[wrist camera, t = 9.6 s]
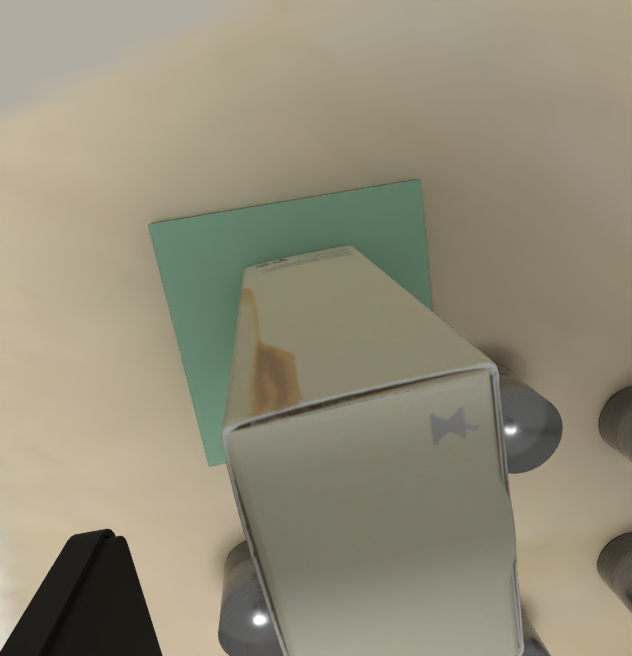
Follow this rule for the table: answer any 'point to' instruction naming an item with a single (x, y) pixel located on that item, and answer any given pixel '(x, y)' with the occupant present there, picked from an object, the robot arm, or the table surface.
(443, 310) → the table surface
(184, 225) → the coaster
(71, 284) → the table surface
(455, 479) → the skincare box
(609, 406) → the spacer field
